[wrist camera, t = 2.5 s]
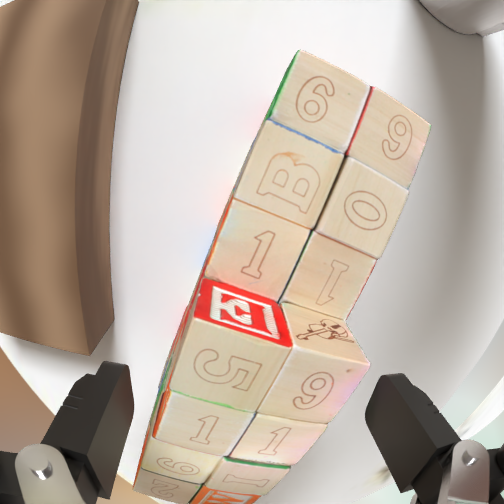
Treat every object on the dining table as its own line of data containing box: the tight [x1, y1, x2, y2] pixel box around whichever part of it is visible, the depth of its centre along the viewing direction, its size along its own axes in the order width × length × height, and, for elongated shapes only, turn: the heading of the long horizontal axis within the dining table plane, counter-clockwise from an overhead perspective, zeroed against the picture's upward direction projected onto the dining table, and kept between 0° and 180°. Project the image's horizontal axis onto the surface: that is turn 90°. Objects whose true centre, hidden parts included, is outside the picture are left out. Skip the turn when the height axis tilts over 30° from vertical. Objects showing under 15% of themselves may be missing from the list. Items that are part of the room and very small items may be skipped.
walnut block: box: [0, 0, 139, 356], centre depth 15 cm, size 12×24×5 cm, turn 174°
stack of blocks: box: [133, 50, 431, 504], centre depth 15 cm, size 21×6×12 cm, turn 157°
